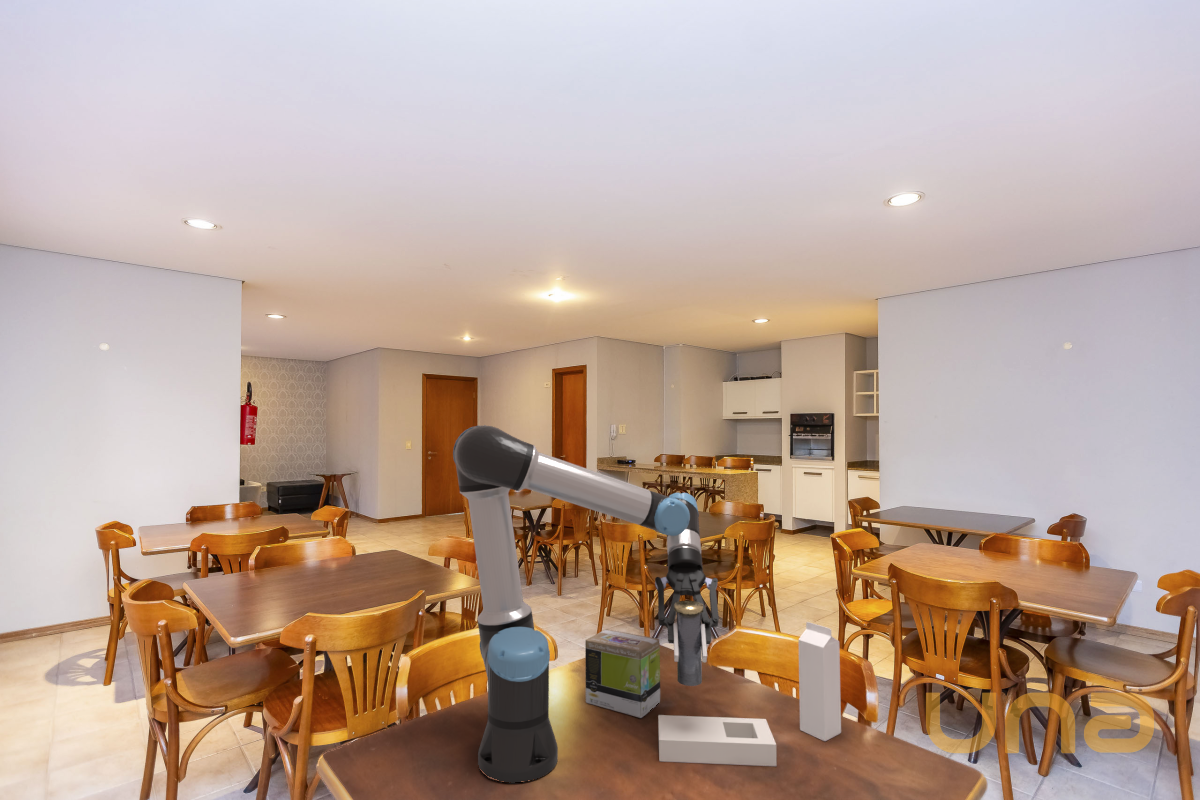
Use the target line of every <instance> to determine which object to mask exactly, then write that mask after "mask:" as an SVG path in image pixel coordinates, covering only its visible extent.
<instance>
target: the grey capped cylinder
mask: <svg viewBox="0 0 1200 800" xmlns="http://www.w3.org/2000/svg"><path fill="white" fill-rule="evenodd" d="M674 610H675V611H676V623H677V629H678V652H679V658H678V662H677V663H676V664H677V682H678V683H679V684H681V685H682V686H687V687H696V686H700V685H701V684H702V682H703V681H702V680H703V676H702V675H703V674H702V673H703V672H702V671H703V670H702V663H703V662H702V649H701V624H702V622H701V613H702V612H703V604H702V603H700V602H696V601H694V600H679V602H676V603H675V604H674Z"/></svg>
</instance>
